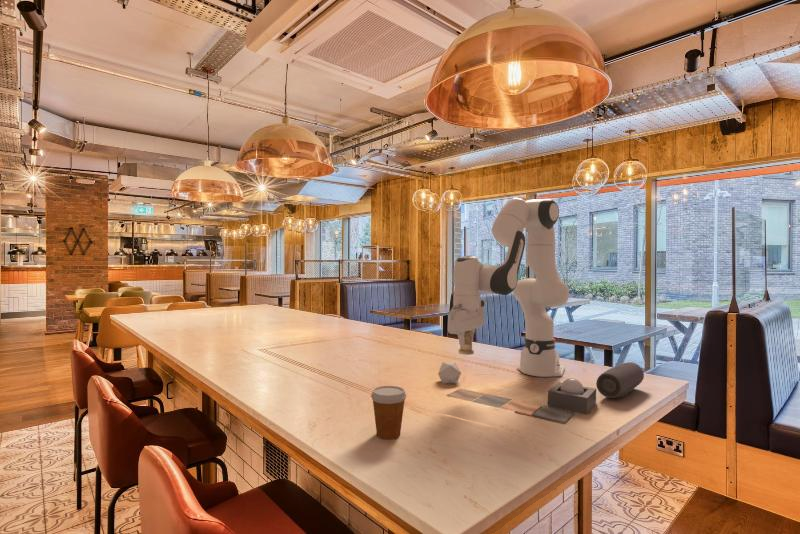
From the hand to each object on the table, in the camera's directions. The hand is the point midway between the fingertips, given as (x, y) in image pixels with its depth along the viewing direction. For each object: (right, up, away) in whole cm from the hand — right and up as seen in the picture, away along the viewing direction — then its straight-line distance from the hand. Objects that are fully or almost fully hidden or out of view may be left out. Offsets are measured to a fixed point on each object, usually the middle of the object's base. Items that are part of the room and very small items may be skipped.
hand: (466, 343), depth 151 cm
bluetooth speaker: (+55, -19, +4) cm, 58 cm away
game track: (+12, -19, -8) cm, 24 cm away
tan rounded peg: (0, -3, 0) cm, 3 cm away
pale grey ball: (+33, -17, -8) cm, 38 cm away
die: (-4, -18, +16) cm, 24 cm away
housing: (+33, -19, -8) cm, 39 cm away
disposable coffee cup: (-26, -19, -33) cm, 46 cm away
